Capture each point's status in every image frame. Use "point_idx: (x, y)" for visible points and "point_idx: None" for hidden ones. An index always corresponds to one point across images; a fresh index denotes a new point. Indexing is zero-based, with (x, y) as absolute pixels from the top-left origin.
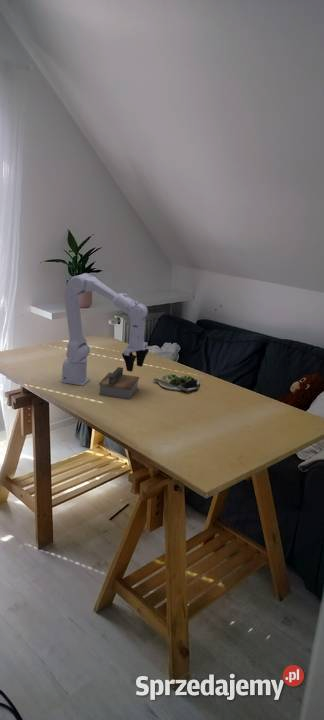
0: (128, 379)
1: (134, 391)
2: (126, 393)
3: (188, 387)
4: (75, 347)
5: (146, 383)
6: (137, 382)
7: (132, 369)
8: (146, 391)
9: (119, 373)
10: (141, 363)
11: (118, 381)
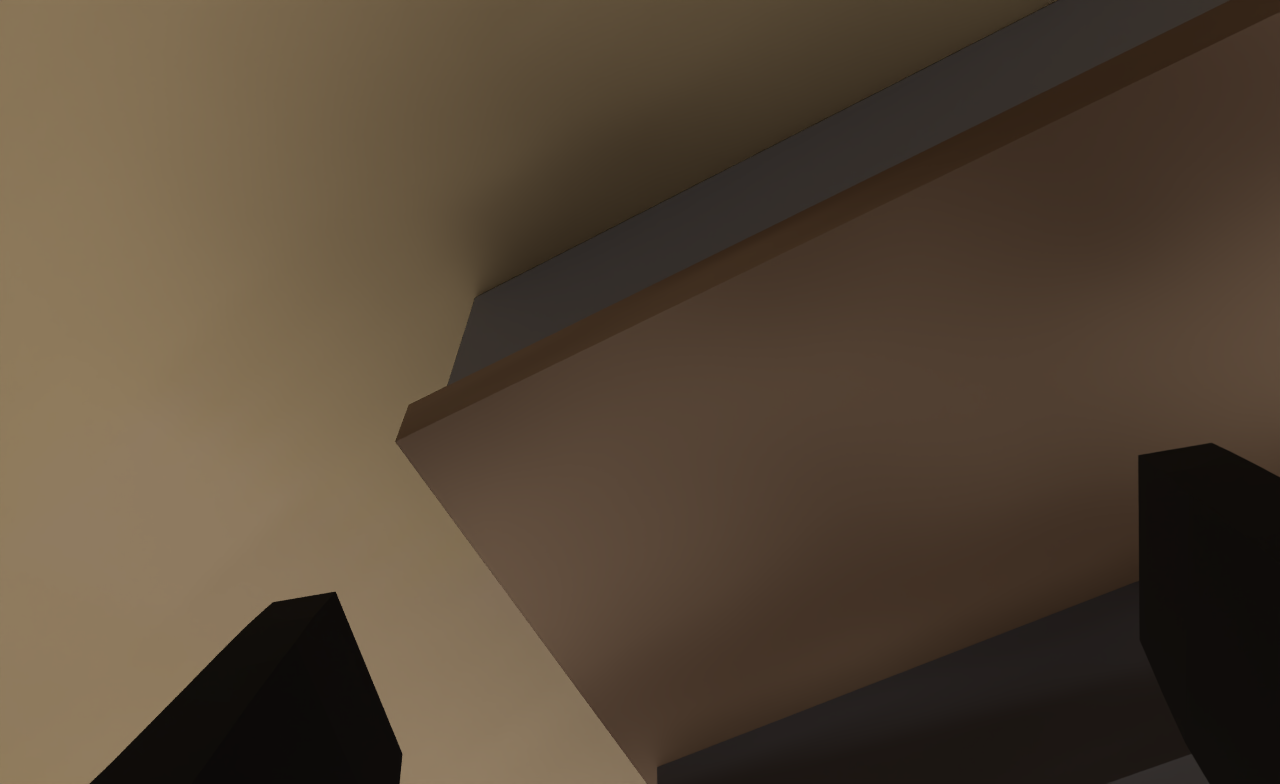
0: (816, 480)
1: (729, 177)
2: None
3: None
4: None
5: (71, 375)
6: (483, 357)
7: (1218, 481)
8: (418, 26)
9: (991, 767)
10: (289, 705)
11: None
